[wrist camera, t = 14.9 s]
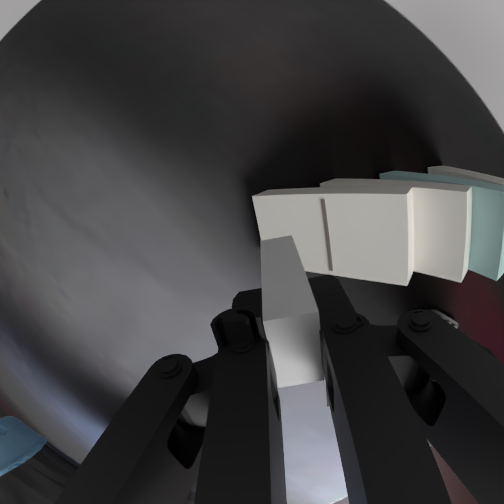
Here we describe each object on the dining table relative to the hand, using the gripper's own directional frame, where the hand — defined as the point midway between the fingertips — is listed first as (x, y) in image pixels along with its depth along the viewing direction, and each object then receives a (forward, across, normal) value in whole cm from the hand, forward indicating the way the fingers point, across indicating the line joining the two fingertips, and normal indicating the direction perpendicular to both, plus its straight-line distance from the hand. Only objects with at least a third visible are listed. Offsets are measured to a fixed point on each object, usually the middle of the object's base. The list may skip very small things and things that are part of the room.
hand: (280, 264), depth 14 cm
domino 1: (+7, 0, 0) cm, 7 cm away
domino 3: (+7, +9, 0) cm, 12 cm away
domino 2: (+7, +4, 0) cm, 8 cm away
